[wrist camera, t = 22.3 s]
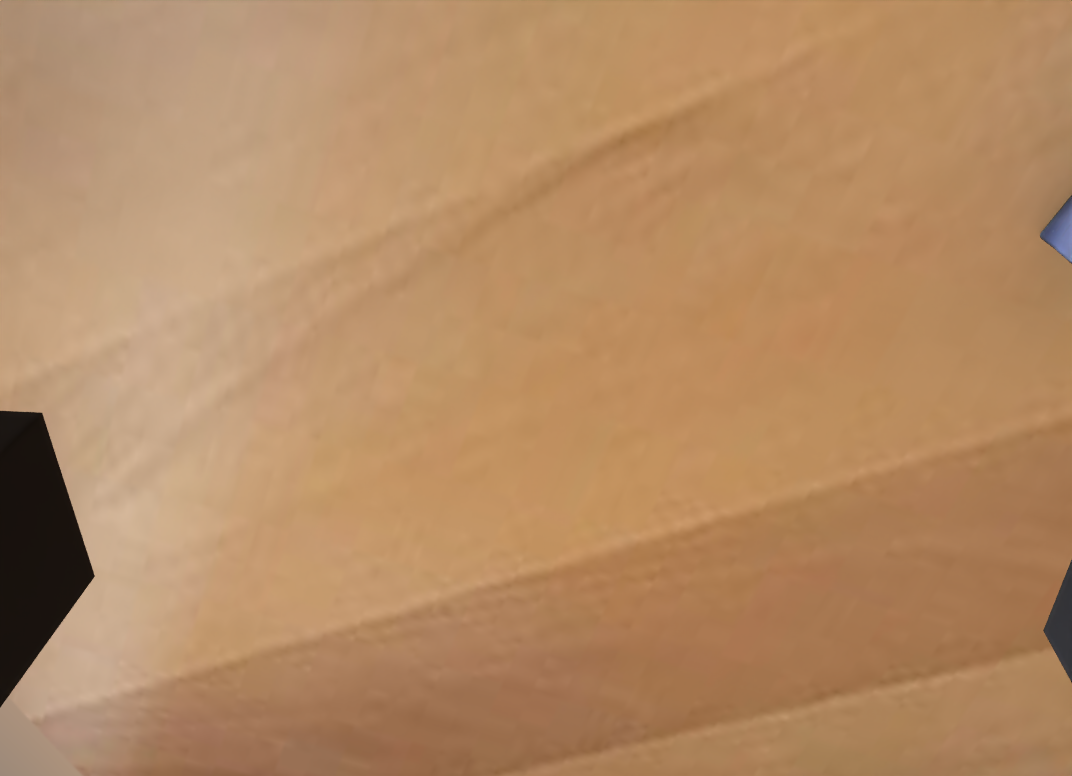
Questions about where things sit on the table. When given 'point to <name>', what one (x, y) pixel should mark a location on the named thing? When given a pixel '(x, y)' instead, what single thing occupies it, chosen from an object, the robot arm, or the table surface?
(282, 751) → the table surface
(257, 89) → the table surface
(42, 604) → the robot arm
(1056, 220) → the small box
